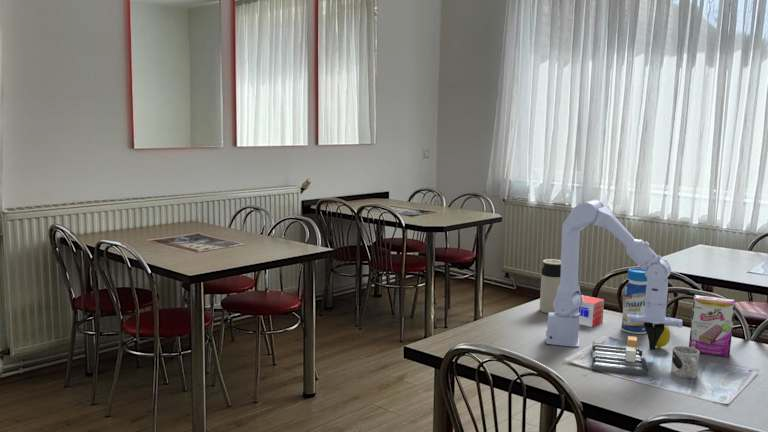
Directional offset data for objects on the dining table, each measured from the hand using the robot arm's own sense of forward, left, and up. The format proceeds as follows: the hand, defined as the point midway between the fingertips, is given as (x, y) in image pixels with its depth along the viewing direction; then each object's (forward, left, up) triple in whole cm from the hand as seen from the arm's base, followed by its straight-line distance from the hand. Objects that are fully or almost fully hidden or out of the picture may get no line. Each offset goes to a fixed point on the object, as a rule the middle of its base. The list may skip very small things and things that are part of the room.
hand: (652, 348), depth 202 cm
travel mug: (-30, +41, -3) cm, 51 cm away
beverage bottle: (-3, +27, -3) cm, 27 cm away
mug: (+8, -11, -3) cm, 14 cm away
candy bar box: (+17, +12, -3) cm, 21 cm away
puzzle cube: (-18, +32, -3) cm, 37 cm away
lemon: (+3, +11, -3) cm, 12 cm away
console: (-9, -5, -3) cm, 11 cm away
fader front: (-6, -10, -1) cm, 12 cm away
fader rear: (-5, 0, -1) cm, 6 cm away
